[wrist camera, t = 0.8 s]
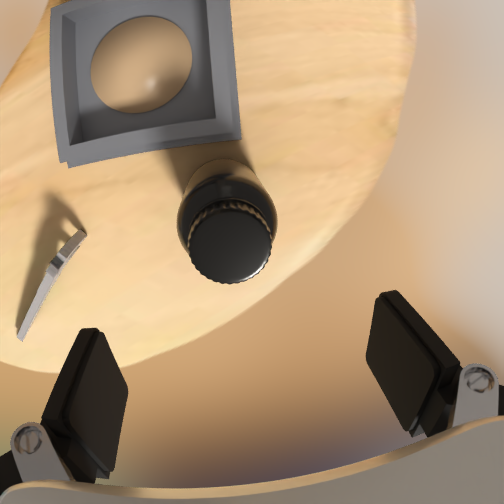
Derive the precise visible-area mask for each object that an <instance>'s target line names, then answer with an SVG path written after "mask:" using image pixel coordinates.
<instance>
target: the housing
mask: <svg viewBox="0 0 504 504" xmlns="http://www.w3.org/2000/svg"><path fill="white" fill-rule="evenodd" d="M50 78H51V94H52V106H53V117H54V126H55V134H56V141H57V148H58V155H59V161H60V163H63V162H67V164H68V168H72V167H76V166H80V165H85V164H89V163H93V162H98V161H102V160H107V159H112V158H117V157H122V156H127V155H132V154H138V153H143V152H149V151H155V150H161V149H168V148H174V147H181V146H188V145H196V144H204V143H212V142H221V141H230V140H241V139H242V138H241V127H240V115H239V103H238V92H237V80H236V68H235V56H234V45H233V33H232V21H231V9H230V0H71V1H68V2H66V3H63V4H61V5H58V6H56V7H53V8H51V16H50Z"/></svg>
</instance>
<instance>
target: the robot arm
mask: <svg viewBox="0 0 504 504" xmlns="http://www.w3.org/2000/svg"><path fill="white" fill-rule="evenodd" d="M366 361H367V364H368V366H369V367H370V369H371V371H372V373H373V375H374V376H375V378H376V380H377V382H378V383H379V385H380V387H381V389H382V391H383V392H384V394H385V396H386V398H387V400H388V401H389V403H390V405H391V407H392V409H393V411H394V412H395V414H396V416H397V418H398V420H399V422H400V424H401V426H402V427H403V429H404V430H405V431H409V433H410V434H411V437H414V436H417V435H420V434H422V433H424V432H425V434H426V436H427V437H428V438H426V439H424V440H421V441H419V442H416V443H413V444H410V445H408V446H405V447H402V448H399V449H397V450H394V451H391V452H388V453H386V454H382V455H380V456H376V457H373V458H370V459H367V460H364V461H361V462H357V463H354V464H350V465H347V466H343V467H339V468H335V469H331V470H327V471H323V472H318V473H314V474H310V475H305V476H300V477H294V478H289V479H283V480H277V481H270V482H264V483H256V484H248V485H239V486H227V487H212V488H189V489H162V488H161V489H160V488H138V487H123V486H110V485H101V484H94V483H95V480H96V478H104V479H109V475H110V472H112V471H113V470H114V468H115V461H116V455H117V450H118V444H119V438H120V433H121V427H122V422H123V416H124V412H125V406H126V402H127V397H128V387H127V384H126V382H125V380H124V378H123V376H122V374H121V372H120V369H119V367H118V365H117V363H116V360H115V358H114V356H113V354H112V351H111V349H110V347H109V344H108V342H107V340H106V337H105V335H104V333H103V332H100V331H99V330H98V329H97V328H83V329H81V330H80V331H79V333H78V335H77V337H76V340H75V342H74V344H73V346H72V348H71V350H70V352H69V354H68V356H67V358H66V361H65V363H64V365H63V367H62V369H61V372H60V374H59V376H58V378H57V381H56V383H55V385H54V388H53V390H52V392H51V395H50V397H49V400H48V402H47V405H46V407H45V410H44V412H43V415H42V417H41V418H42V420H41V423H40V424H39V423H35V422H28V423H25V424H22V425H21V426H19V427H18V428H17V429H16V430H15V431H14V433H13V435H12V437H11V442H10V445H11V450H10V451H9V452H7V453H5V454H4V455H2V456H0V504H504V386H502V385H499V383H498V378H497V376H496V374H495V373H494V372H493V370H492V369H490V368H489V367H487V366H485V365H482V364H470V365H467V366H466V367H464V368H462V367H461V366H460V361H459V360H458V359H457V358H456V357H455V355H454V354H452V352H451V351H450V349H449V348H448V347H447V346H446V345H445V343H444V342H443V341H442V340H441V339H440V338H439V337H438V335H437V334H436V333H435V332H434V331H433V330H432V329H431V327H430V326H429V325H428V324H427V323H426V322H425V320H424V319H423V318H422V317H421V316H420V315H419V314H418V313H417V312H416V311H415V309H414V308H413V307H412V306H411V305H410V304H409V303H408V302H407V301H406V299H405V298H404V297H403V296H402V295H401V294H400V293H399V292H398V291H397V290H393V291H388V292H382V293H381V294H380V295H379V297H378V298H376V300H375V305H374V312H373V318H372V325H371V329H370V335H369V341H368V346H367V351H366Z"/></svg>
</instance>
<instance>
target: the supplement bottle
mask: <svg viewBox="0 0 504 504" xmlns="http://www.w3.org/2000/svg"><path fill="white" fill-rule="evenodd" d="M177 232H178V236H179V239H180V242H181V244H182V246H183V248H184V249H185V251H186V252H187V253H188V254H189V256H190V258H191V262H192V263H193V264H194V265H195V268H196V269H197V270H198V271H200V273H201V275H204V276H206V278H207V279H211V280H213V281H214V282H220V283H222V284H225V283H227V284H232V283H240V282H244V281H246V280H248V279H250V278H253V277H254V275H256V274H258V273H259V272H260V270H262V269H263V268H264V266H265V264H266V263H267V262H268V258H269V256H270V255H271V251H270V250H271V248H272V243H273V241H274V239H275V236H276V232H277V213H276V209H275V206H274V203H273V201H272V199H271V197H270V196H269V194H268V193H267V191H266V190H265V188H264V187H263V185H262V184H261V182H260V181H259V179H258V178H257V176H256V175H255V174H254V173H253V171H252V170H251V169H250V168H248V167H247V166H246V165H244V164H242V163H240V162H238V161H235V160H231V159H217V160H213V161H210V162H208V163H206V164H204V165H202V166H201V167H200V168H199V169H197V170H196V172H195V173H194V174H193V175H192V177H191V178H190V180H189V182H188V184H187V187H186V190H185V193H184V195H183V198H182V201H181V204H180V207H179V210H178V215H177Z"/></svg>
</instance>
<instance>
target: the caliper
mask: <svg viewBox="0 0 504 504" xmlns="http://www.w3.org/2000/svg"><path fill="white" fill-rule="evenodd" d="M86 236H87V235H86V234H85V233H84V232H83V231H82V230H80V229H79V230H78V231H77V232H76V233H75V234H74V235H73V236H72V237H71V238H70V239H69V240H68V241H67V242H66V244H65V245H64V246H63V247H62V248H61V249H60V251H59V252H58V253H57V255H56V256H55V258H54V259H53V260H52V261H51V262H50V266H49V267H48V268H47V270H46V272H47V273H46V275H45V277H44V279H43V281H42V283H41V284H40V286H39V288H38V290H37V294H36V296H35V298H34V300H33V302H32V304H31V306H30V308H29V310H28V312H27V315H26V317H25V319H24V321H23V323H22V326H21V328H20V330H19V332H18V335H17V338H18V339H20V340H21V341H22V342H23V340H24V338H25V336H26V334H27V332H28V331H29V329H30V327H31V325H32V323H33V321H34V319H35V317H36V315H37V313H38V311H39V309H40V307H41V305H42V304H43V302H44V300H45V298H46V296H47V295H48V293H49V291H50V289H51V288H52V286H53V285H54V283H55V282H56V280H57V278H58V277H59V275H60V273H61V271H62V269H63V268H64V266H65V265H66V264H67V262H68V261H69V260H70V259H71V257H72V256H73V255H74V253H75V252H76V251H77V249H78V248H79V247H80V246H79V245H80V244H81V242H82V241H83V240H84V239H85V238H86Z"/></svg>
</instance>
